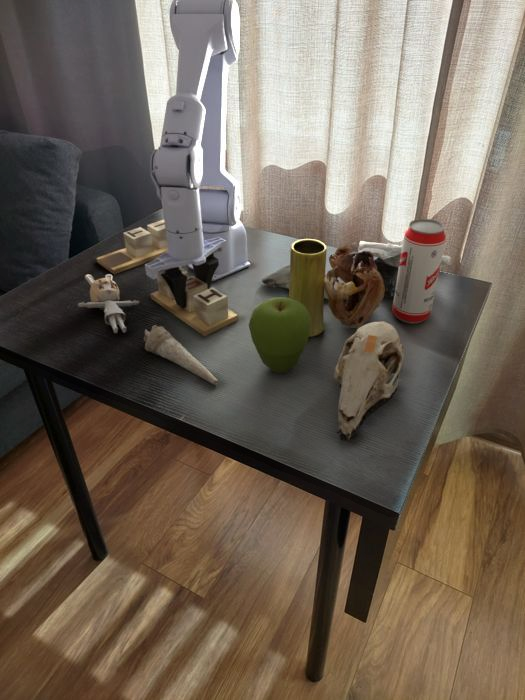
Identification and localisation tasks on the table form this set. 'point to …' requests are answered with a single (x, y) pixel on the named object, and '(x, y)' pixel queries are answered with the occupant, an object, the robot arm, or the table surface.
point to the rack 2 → (197, 308)
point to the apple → (280, 332)
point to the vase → (309, 279)
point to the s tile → (193, 291)
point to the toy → (107, 301)
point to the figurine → (392, 250)
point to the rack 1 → (137, 248)
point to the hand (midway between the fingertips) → (192, 300)
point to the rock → (388, 272)
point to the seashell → (174, 352)
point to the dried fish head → (353, 286)
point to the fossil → (283, 279)
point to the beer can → (418, 270)
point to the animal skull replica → (367, 374)
